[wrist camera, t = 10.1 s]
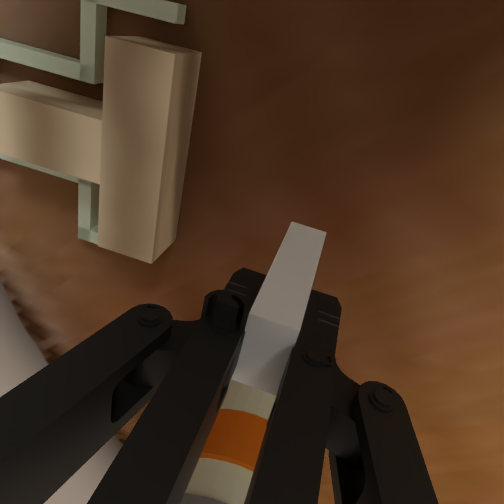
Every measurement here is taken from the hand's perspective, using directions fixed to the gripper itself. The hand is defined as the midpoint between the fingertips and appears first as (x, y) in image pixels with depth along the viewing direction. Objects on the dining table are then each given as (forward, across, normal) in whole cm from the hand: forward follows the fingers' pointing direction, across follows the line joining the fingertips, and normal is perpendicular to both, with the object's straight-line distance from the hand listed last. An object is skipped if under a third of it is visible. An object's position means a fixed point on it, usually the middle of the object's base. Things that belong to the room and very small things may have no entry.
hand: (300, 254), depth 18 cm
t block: (+10, -15, -1) cm, 19 cm away
